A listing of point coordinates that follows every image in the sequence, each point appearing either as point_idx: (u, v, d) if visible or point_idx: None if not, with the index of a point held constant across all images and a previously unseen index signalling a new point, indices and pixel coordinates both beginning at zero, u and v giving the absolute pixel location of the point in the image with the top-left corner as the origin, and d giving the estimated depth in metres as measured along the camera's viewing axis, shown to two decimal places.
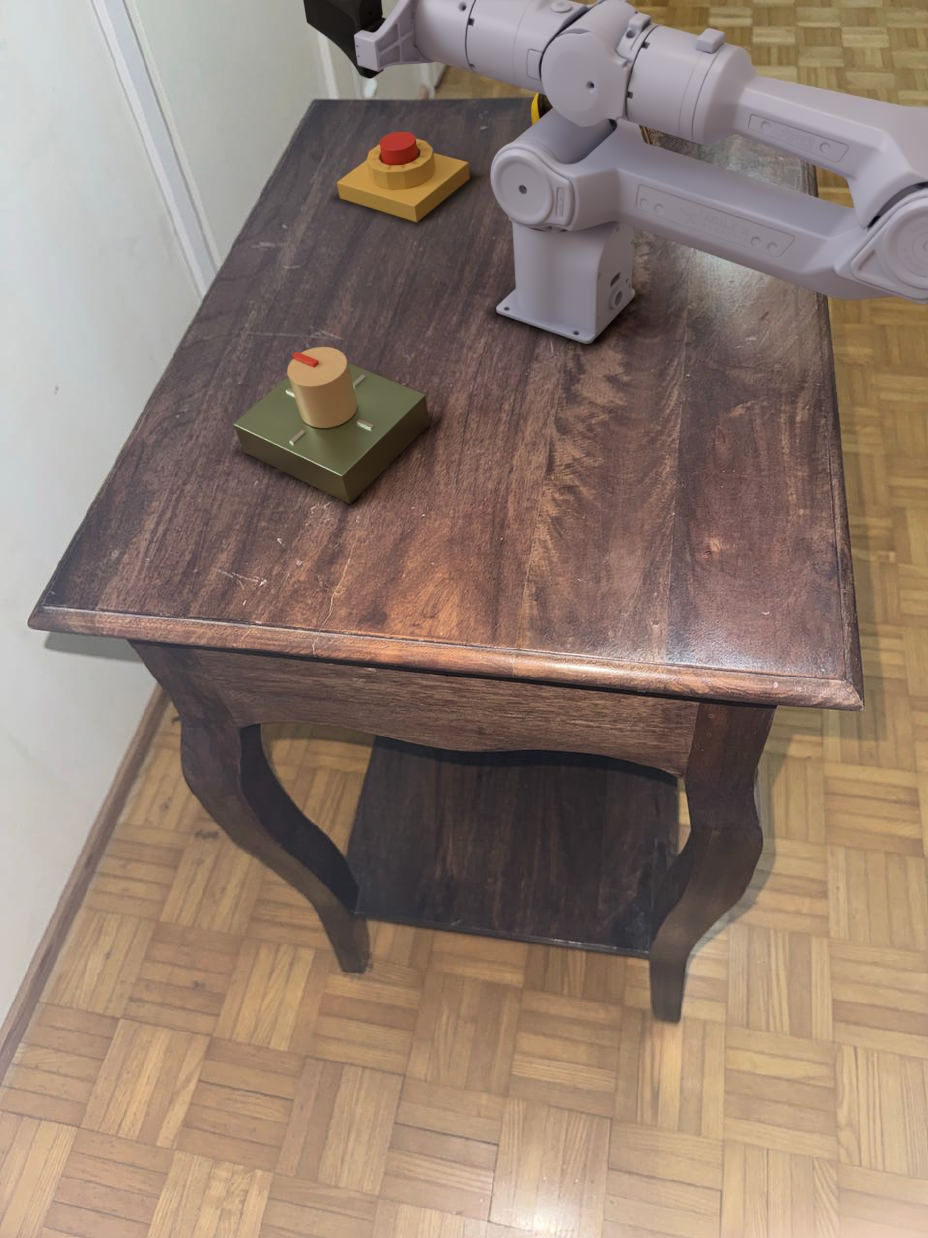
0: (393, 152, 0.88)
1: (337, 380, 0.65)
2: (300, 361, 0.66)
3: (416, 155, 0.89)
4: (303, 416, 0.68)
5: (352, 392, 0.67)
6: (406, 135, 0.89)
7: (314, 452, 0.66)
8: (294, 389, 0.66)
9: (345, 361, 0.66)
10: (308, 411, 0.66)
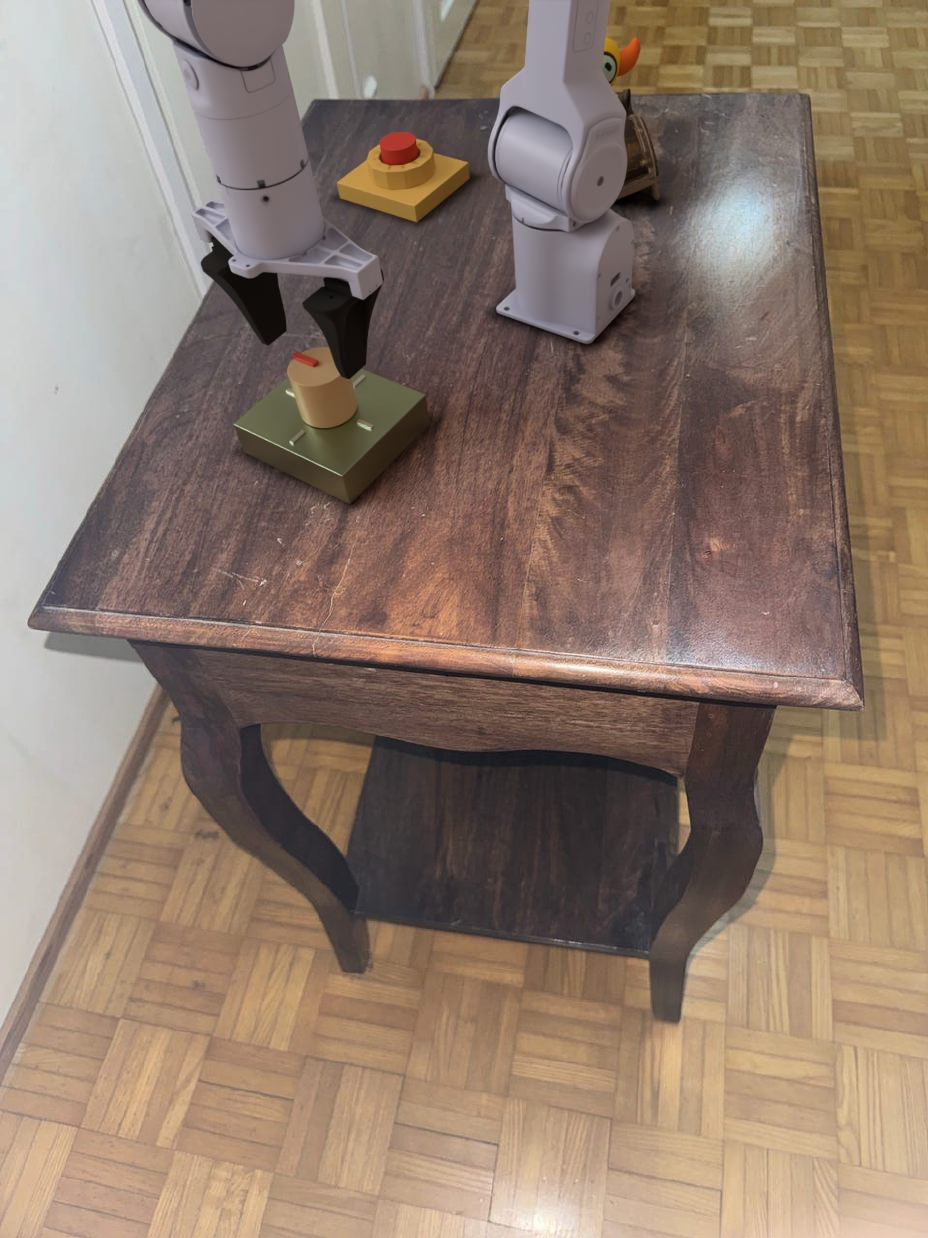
0: (393, 152, 0.88)
1: (337, 380, 0.65)
2: (300, 361, 0.66)
3: (416, 155, 0.89)
4: (303, 416, 0.68)
5: (352, 392, 0.67)
6: (406, 135, 0.89)
7: (314, 452, 0.66)
8: (294, 389, 0.66)
9: None
10: (308, 411, 0.66)
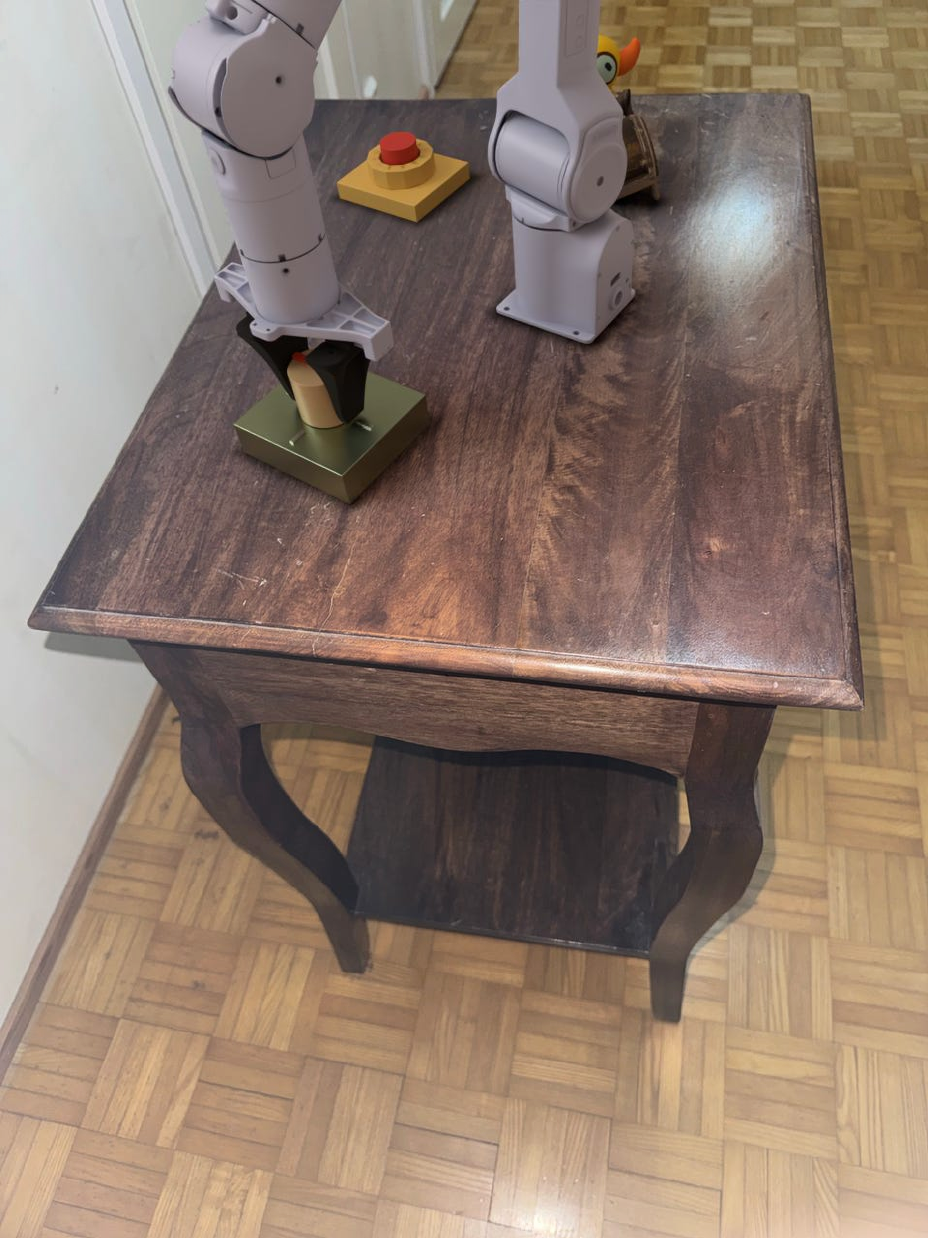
0: (393, 152, 0.88)
1: None
2: (300, 361, 0.66)
3: (416, 155, 0.89)
4: (303, 416, 0.68)
5: None
6: (406, 135, 0.89)
7: (314, 452, 0.66)
8: (294, 389, 0.66)
9: None
10: (309, 411, 0.66)
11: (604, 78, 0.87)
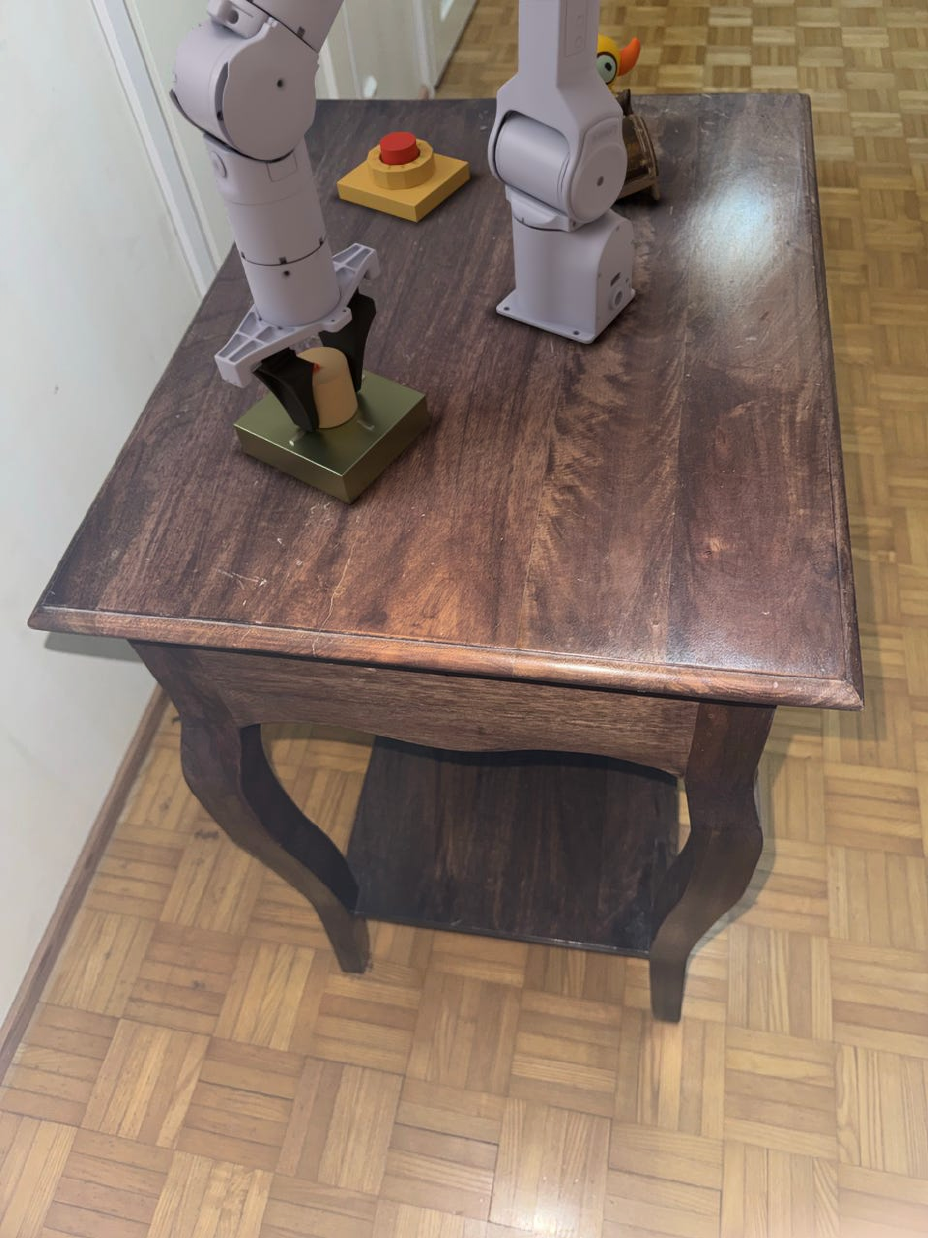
0: (393, 152, 0.88)
1: (339, 352, 0.67)
2: None
3: (416, 155, 0.89)
4: (344, 415, 0.67)
5: None
6: (406, 135, 0.89)
7: (314, 452, 0.66)
8: (335, 390, 0.65)
9: (317, 348, 0.67)
10: (349, 399, 0.67)
11: (604, 78, 0.87)
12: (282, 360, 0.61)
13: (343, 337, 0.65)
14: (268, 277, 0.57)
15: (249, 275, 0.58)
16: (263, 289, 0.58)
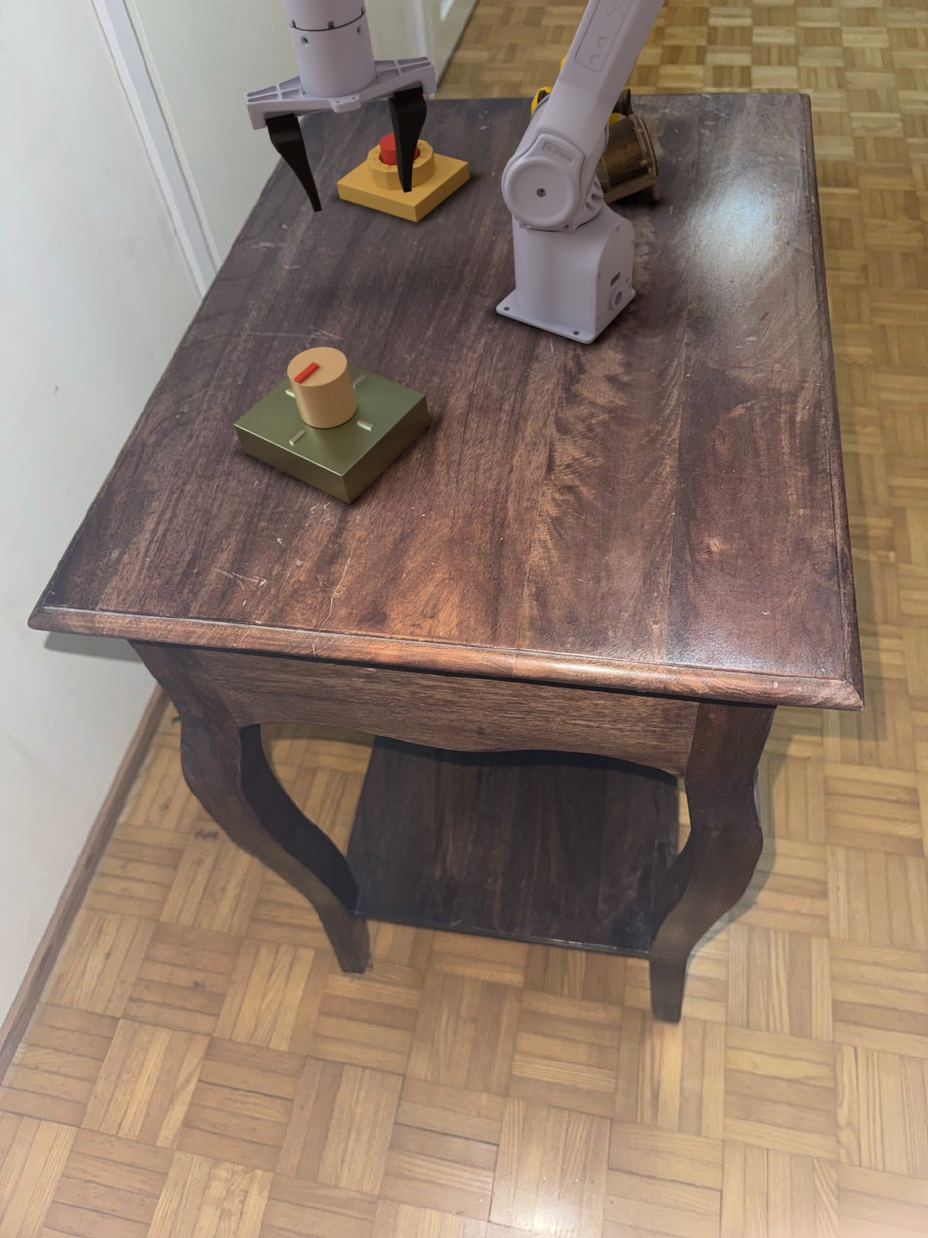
0: (393, 152, 0.88)
1: (340, 352, 0.67)
2: (307, 376, 0.65)
3: (416, 155, 0.89)
4: (344, 415, 0.67)
5: None
6: None
7: (314, 452, 0.66)
8: (335, 390, 0.65)
9: (317, 348, 0.67)
10: (349, 399, 0.67)
11: None
12: (284, 127, 0.70)
13: (397, 131, 0.72)
14: (294, 39, 0.65)
15: None
16: (294, 50, 0.66)
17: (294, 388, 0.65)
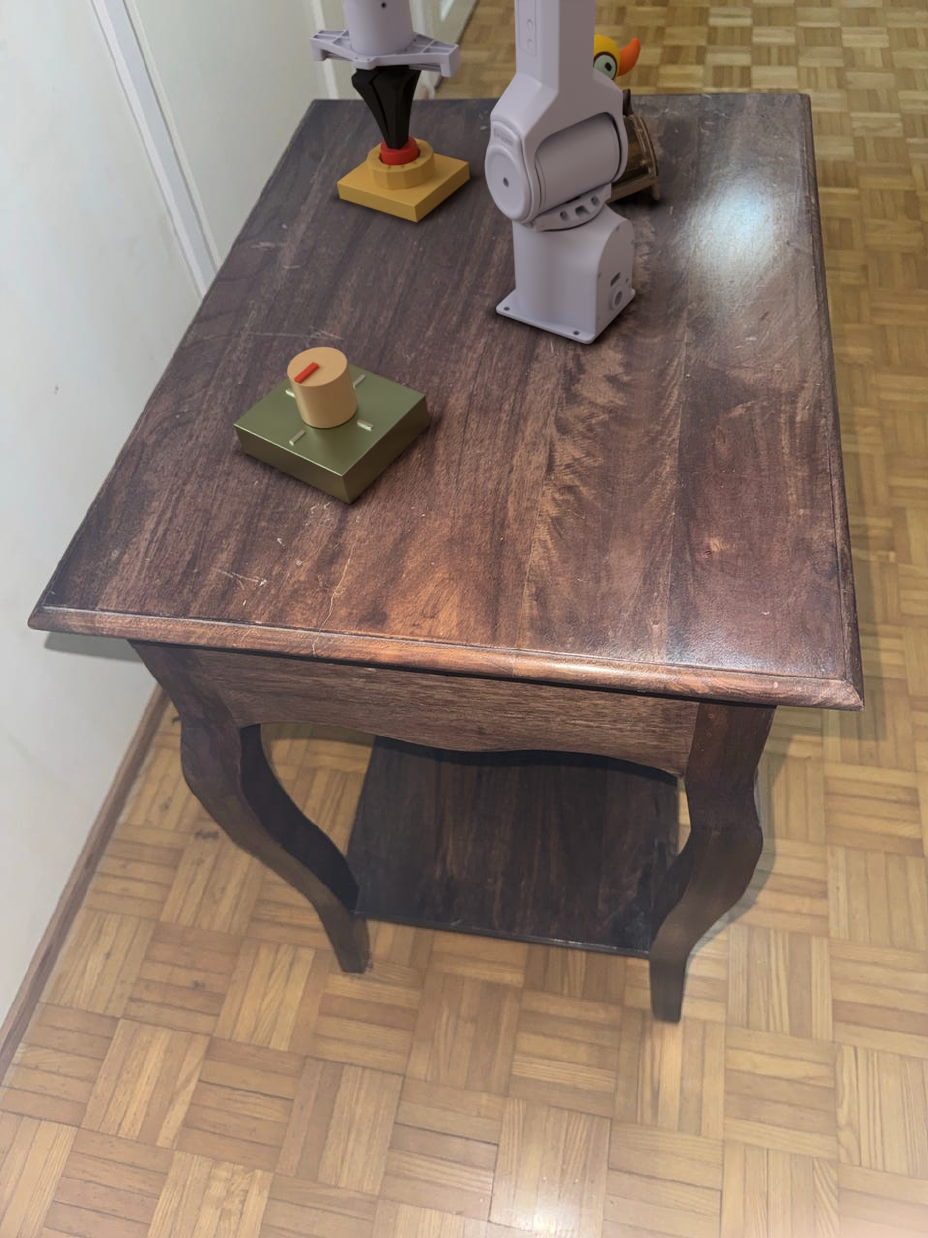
0: (394, 155, 0.88)
1: (340, 352, 0.67)
2: (307, 376, 0.65)
3: (416, 158, 0.89)
4: (344, 415, 0.67)
5: None
6: None
7: (314, 452, 0.66)
8: (335, 390, 0.65)
9: (317, 348, 0.67)
10: (349, 399, 0.67)
11: None
12: (367, 70, 0.83)
13: None
14: None
15: None
16: None
17: (294, 388, 0.65)
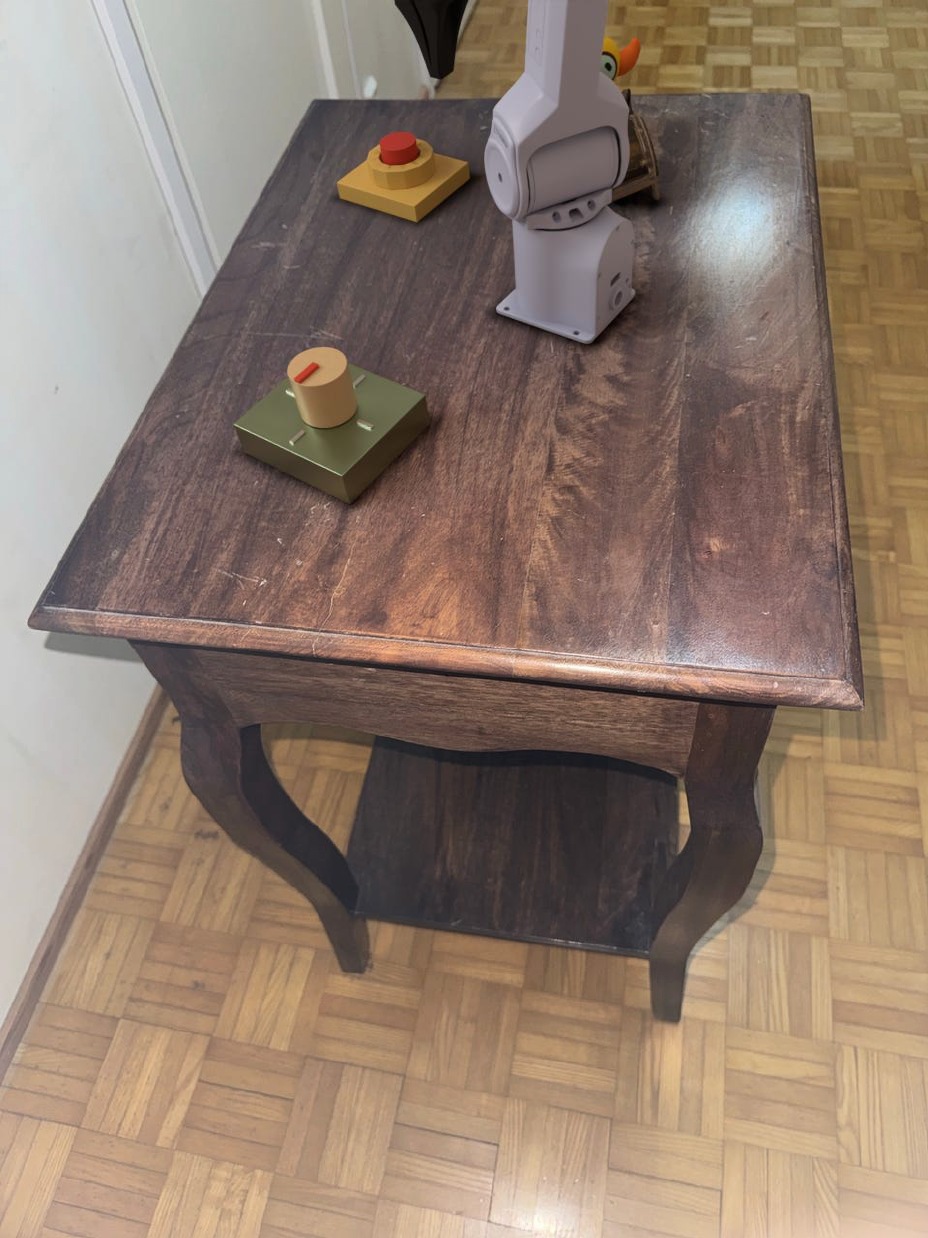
0: (393, 152, 0.88)
1: (340, 352, 0.67)
2: (307, 376, 0.65)
3: (416, 155, 0.89)
4: (344, 415, 0.67)
5: None
6: (406, 135, 0.89)
7: (314, 452, 0.66)
8: (335, 390, 0.65)
9: (317, 348, 0.67)
10: (349, 399, 0.67)
11: None
12: None
13: None
14: None
15: None
16: None
17: (294, 388, 0.65)
